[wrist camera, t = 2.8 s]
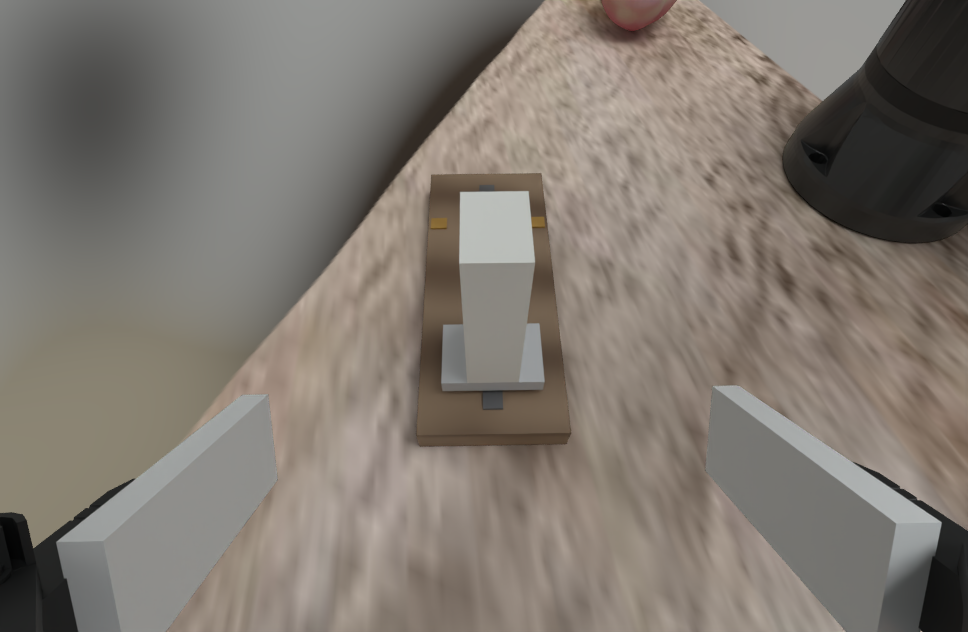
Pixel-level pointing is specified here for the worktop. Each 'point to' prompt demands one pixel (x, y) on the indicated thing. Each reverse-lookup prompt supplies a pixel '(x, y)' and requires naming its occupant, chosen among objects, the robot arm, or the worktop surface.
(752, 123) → the worktop surface
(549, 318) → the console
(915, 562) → the robot arm
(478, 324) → the block
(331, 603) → the worktop surface
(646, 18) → the decorative fruit
